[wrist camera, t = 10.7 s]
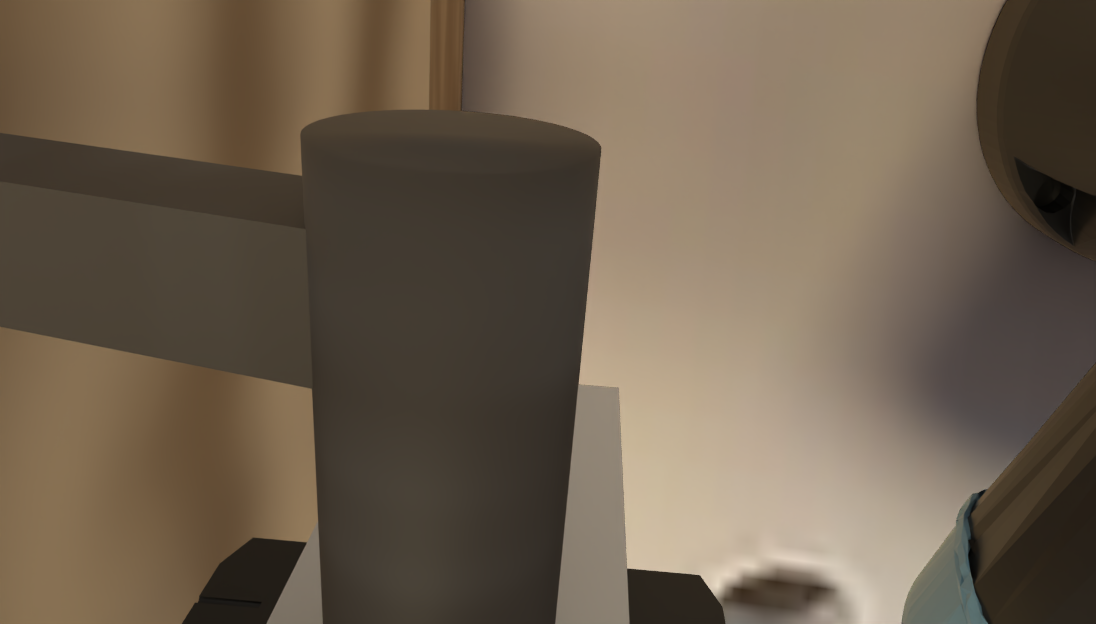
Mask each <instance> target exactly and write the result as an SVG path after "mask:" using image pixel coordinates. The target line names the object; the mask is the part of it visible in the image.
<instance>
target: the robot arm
mask: <svg viewBox="0 0 1096 624" xmlns="http://www.w3.org/2000/svg"><path fill="white" fill-rule="evenodd" d="M977 118H978V130H979V136H980V142H981V146H982V150H983V154H984V157H985V160H986V163H987V166H988V169H989V171H990V173H991V175H992V178H993V179H994V181H995V183H996V185H997V187H998V188H999V190H1000V192H1001V193H1002V194H1003V196H1004V197H1005V199H1006V200H1007V201H1008V203H1009V204H1010V205H1011V206H1012V207H1013V209H1014V210H1015V211H1016V212H1017V213H1018V214H1019V215H1020V216H1021V217H1022V218H1024V219H1025V220H1026V221H1027V222H1028V223H1030V224H1031V225H1032V226H1033V227H1035V228H1036V229H1038V230H1039V231H1041V232H1042V233H1044V234H1045V235H1047V236H1049V237H1050V238H1052V239H1053V240H1055V241H1057V242H1058V243H1060V244H1062V245H1063V246H1065V247H1067V248H1068V249H1070V250H1072V251H1074V252H1076V253H1078V254H1080V255H1082V256H1084V257H1086V258H1089V259H1092V260H1094V261H1096V0H1007V2H1006V4H1005V5H1004V7H1003V9H1002V11H1001V13H1000V15H999V18H998V20H997V22H996V24H995V26H994V29H993V32H992V34H991V37H990V39H989V42H988V46H987V49H986V52H985V55H984V59H983V64H982V68H981V73H980V79H979V86H978V98H977ZM182 624H323V617H322V595H321V573H320V552H319V530H318V522H317V524H316V526H315V528H314V530H313V532H312V534H311V536H310V538H309V540H308V542H298V541H287V540H276V539H265V538H252V539H250V540H249V541H248V542H247V543H245V544H244V545H243V546H241V547H240V548H239V549H238V550H236V551H235V552H234V553H232V554H231V555H230V556H229V557H227V558H226V559H225V560H223V561H222V562H221V563H220V564H219V565H218V567H217V568H216V570H215V571H214V573H213V575H212V576H211V578H210V579H209V581H208V583H207V584H206V586H205V587H204V589H203V591H202V592H201V594H200V595H199V601H198V603H194V605H193V606H192V608H191V610H190V611H189V613H188V614H187V616H186V618H185V619H184V621H183V622H182ZM555 624H725V619H724V613H723V608H722V606H721V604H720V603H719V602H718V600H717V599H716V597H715V596H714V595H713V593H712V592H711V590H710V589H709V588H708V586H707V585H706V583H705V582H704V580H703V579H702V578H701V576H700V575H692V574H681V573H670V572H658V571H647V570H636V569H627V558H626V536H625V514H624V492H623V470H622V448H621V426H620V405H619V388H615V387H603V386H591V385H580V384H578V394H577V404H576V415H575V425H574V435H573V446H572V456H571V466H570V476H569V487H568V497H567V507H566V518H565V528H564V538H563V549H562V559H561V569H560V579H559V590H558V600H557V610H556V621H555ZM902 624H1096V363H1095V364H1094V365H1093V367H1092V368H1091V369H1090V370H1089V371H1088V373H1087V374H1086V375H1085V376H1084V377H1083V379H1082V380H1081V381H1080V382H1079V383H1078V384H1077V386H1076V387H1075V388H1074V389H1073V390H1072V392H1071V393H1070V394H1069V395H1068V396H1067V398H1066V399H1065V400H1064V401H1063V402H1062V403H1061V405H1060V406H1059V407H1058V408H1057V409H1056V411H1055V412H1054V413H1053V414H1052V415H1051V417H1050V418H1049V419H1048V420H1047V421H1046V422H1045V424H1044V425H1043V426H1042V427H1041V428H1040V430H1039V431H1038V432H1037V433H1036V434H1035V436H1034V437H1033V438H1032V439H1031V440H1030V441H1029V443H1028V444H1027V445H1026V446H1025V447H1024V449H1023V450H1022V451H1021V452H1020V453H1019V454H1018V455H1017V457H1016V458H1015V459H1014V460H1013V461H1012V462H1011V463H1010V465H1009V466H1008V467H1007V468H1006V469H1005V470H1004V471H1003V473H1002V474H1001V475H1000V476H999V477H998V478H997V479H996V481H995V482H994V483H993V484H992V485H991V486H990V487H989V489H985V490H983V491H981V492H979V493H975V494H972V495H971V496H970V498H969V499H968V500H967V501H966V502H965V503H964V505H963V506H962V508H961V509H960V511H959V514H958V517H957V520H956V526H955V528H954V529H953V530H952V532H951V533H950V534H949V536H948V537H947V538H946V540H945V541H944V542H943V544H942V545H941V546H940V547H939V549H938V550H937V551H936V553H935V554H934V555H933V557H932V558H931V559H930V561H929V562H928V563H927V565H926V566H925V567H924V569H923V570H922V571H921V573H920V574H919V575H918V577H917V578H916V580H915V581H914V583H913V585H912V587H911V589H910V591H909V593H908V596H907V599H906V601H905V605H904V611H903V616H902Z"/></svg>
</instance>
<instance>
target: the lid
mask: <svg viewBox="0 0 1096 624" xmlns="http://www.w3.org/2000/svg"><path fill="white" fill-rule="evenodd" d="M430 5H431V0H0V624H182V622H183V621H184V619H185V618H186V616H187V614H188V613H189V611H190V610H191V608H192V606H193V605H194V603H198V601H199V595H200V594H201V592H202V591H203V589H204V587H205V586H206V584H207V583H208V581H209V579H210V578H211V576H212V575H213V573H214V571H215V570H216V568H217V567H218V565H219V564H220V563H221V562H222V561H223V560H225V559H226V558H227V557H229V556H230V555H231V554H232V553H234V552H235V551H236V550H238V549H239V548H240V547H241V546H243V545H244V544H245V543H247V542H248V541H249V540H250V539H252V538H265V539H276V540H287V541H298V542H308V540H309V538H310V536H311V534H312V532H313V530H314V528H315V526H316V524H317V522H318V530H319V552H320V573H321V595H322V617H323V624H555V621H556V610H557V600H558V590H559V579H560V569H561V559H562V549H563V538H564V528H565V518H566V507H567V497H568V487H569V476H570V466H571V456H572V446H573V435H574V425H575V415H576V404H577V394H578V384H579V373H580V363H581V353H582V342H583V332H584V322H585V312H586V301H587V291H588V281H589V270H590V260H591V250H592V239H593V229H594V219H595V209H596V198H597V188H598V178H599V167H600V157H601V146H600V144H599V143H598V142H597V141H596V140H594V139H593V138H591V137H590V136H588V135H586V134H583V133H581V132H579V131H576V130H573V129H570V128H567V127H563V126H560V125H556V124H552V123H547V122H543V121H538V120H533V119H527V118H521V117H515V116H507V115H500V114H490V113H480V112H468V111H452V110H429V73H430Z"/></svg>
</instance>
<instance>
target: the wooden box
mask: <svg viewBox="0 0 1096 624" xmlns="http://www.w3.org/2000/svg"><path fill="white" fill-rule="evenodd" d="M464 5H465V0H431V5H430V73H429V110H452V111H461V106H462V72H463V39H464Z"/></svg>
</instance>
